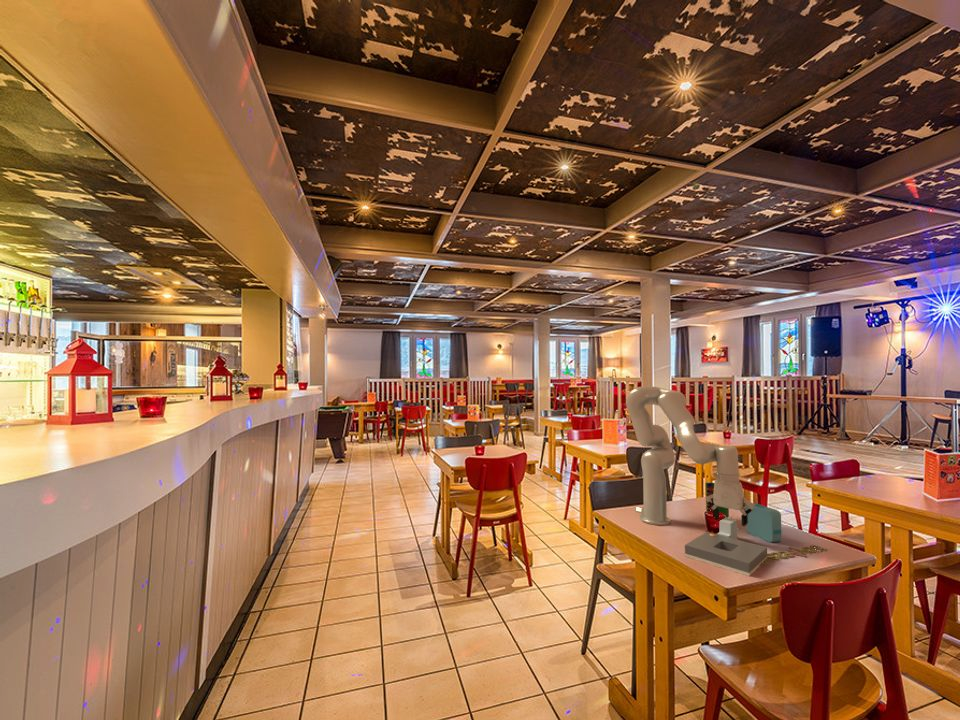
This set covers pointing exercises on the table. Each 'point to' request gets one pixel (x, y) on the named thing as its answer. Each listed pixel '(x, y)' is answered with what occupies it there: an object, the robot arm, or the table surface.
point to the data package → (764, 523)
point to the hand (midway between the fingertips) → (730, 522)
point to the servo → (728, 528)
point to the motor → (709, 492)
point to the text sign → (791, 553)
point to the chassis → (726, 553)
